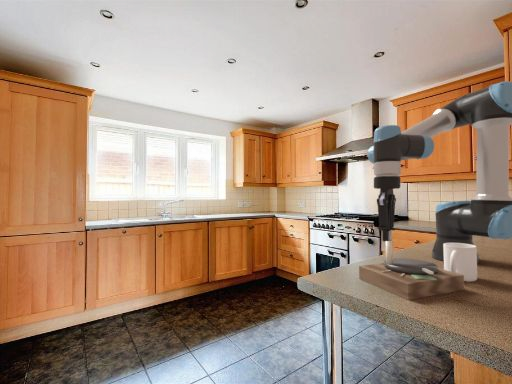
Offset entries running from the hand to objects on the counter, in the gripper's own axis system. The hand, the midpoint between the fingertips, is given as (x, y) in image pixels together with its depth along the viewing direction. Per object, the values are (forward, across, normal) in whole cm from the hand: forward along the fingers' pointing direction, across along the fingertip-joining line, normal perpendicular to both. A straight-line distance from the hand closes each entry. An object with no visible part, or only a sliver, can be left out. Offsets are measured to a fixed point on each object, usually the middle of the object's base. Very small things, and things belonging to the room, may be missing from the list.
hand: (386, 251), depth 83 cm
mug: (+9, -13, +17) cm, 23 cm away
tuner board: (+9, +1, +6) cm, 11 cm away
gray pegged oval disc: (+4, 0, +7) cm, 9 cm away
